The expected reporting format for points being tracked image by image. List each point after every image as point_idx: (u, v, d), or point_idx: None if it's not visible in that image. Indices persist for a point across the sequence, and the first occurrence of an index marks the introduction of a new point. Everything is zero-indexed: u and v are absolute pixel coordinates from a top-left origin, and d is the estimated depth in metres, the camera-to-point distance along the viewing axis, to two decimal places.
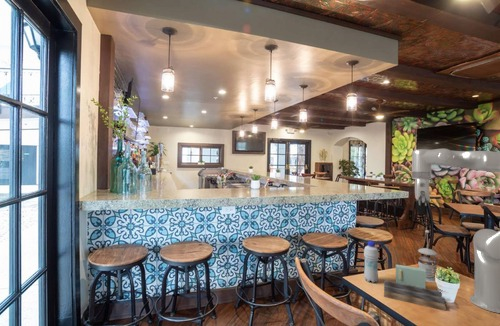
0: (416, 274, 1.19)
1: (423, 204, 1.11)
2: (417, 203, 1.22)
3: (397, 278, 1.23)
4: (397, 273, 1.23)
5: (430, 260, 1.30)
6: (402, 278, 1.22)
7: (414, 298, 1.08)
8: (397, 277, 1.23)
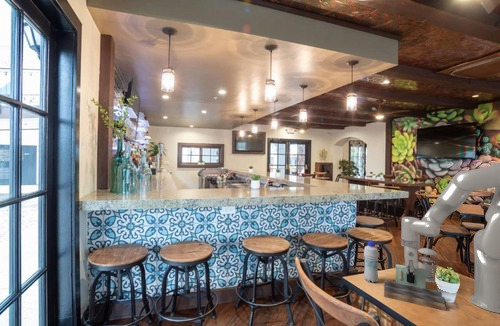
0: (416, 274, 1.19)
1: (411, 274, 1.19)
2: None
3: (397, 278, 1.23)
4: (397, 273, 1.23)
5: (430, 260, 1.30)
6: (402, 277, 1.22)
7: (414, 298, 1.08)
8: (397, 277, 1.23)
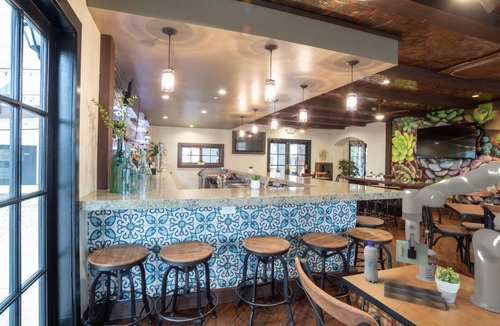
0: (418, 249, 1.11)
1: (412, 249, 1.11)
2: None
3: (397, 254, 1.15)
4: (397, 248, 1.15)
5: (430, 260, 1.30)
6: (403, 253, 1.14)
7: (414, 298, 1.08)
8: (397, 253, 1.15)
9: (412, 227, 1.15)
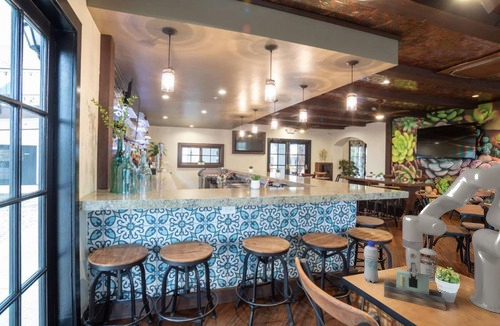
0: (419, 280, 1.10)
1: (414, 278, 1.07)
2: None
3: (398, 284, 1.13)
4: (398, 279, 1.13)
5: (430, 260, 1.30)
6: (403, 284, 1.12)
7: (414, 298, 1.08)
8: (398, 283, 1.13)
9: None
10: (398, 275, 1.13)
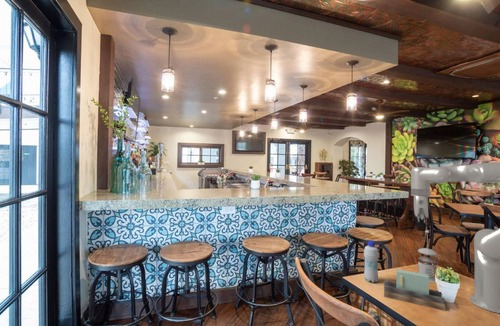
0: (419, 280, 1.10)
1: (422, 221, 1.15)
2: (416, 219, 1.25)
3: (398, 284, 1.13)
4: (398, 279, 1.13)
5: (430, 260, 1.30)
6: (403, 284, 1.12)
7: (414, 298, 1.08)
8: (398, 283, 1.13)
9: None
10: (398, 275, 1.13)
